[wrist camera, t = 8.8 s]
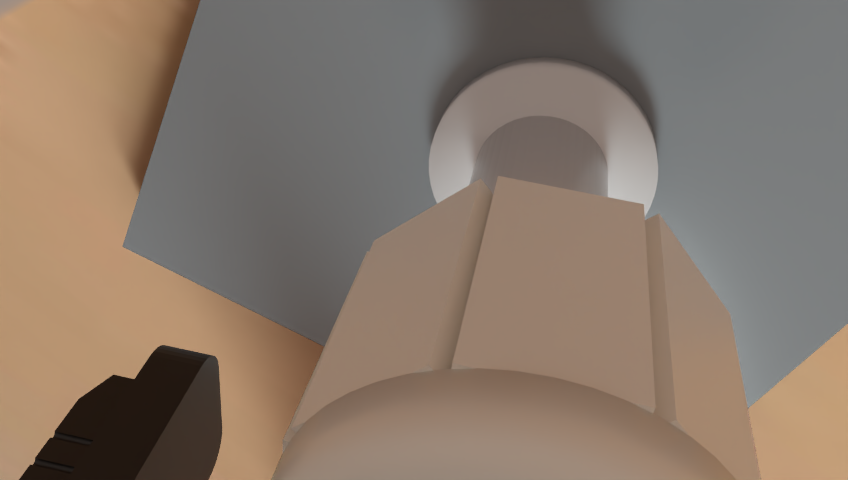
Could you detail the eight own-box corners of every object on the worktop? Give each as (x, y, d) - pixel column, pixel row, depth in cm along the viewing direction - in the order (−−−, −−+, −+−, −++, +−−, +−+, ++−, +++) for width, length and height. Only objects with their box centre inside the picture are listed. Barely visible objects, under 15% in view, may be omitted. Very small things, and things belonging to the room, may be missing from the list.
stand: (148, 216, 22) (-181, 594, 13) (379, -478, 13) (-188, -895, 4) (636, 461, 24) (654, 946, 15) (1141, 4, 15) (2035, 532, 6)
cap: (591, 103, 10) (575, 413, 5) (795, 394, 11) (897, 789, 7) (285, 285, 12) (115, 587, 8) (492, 498, 14) (440, 833, 10)
